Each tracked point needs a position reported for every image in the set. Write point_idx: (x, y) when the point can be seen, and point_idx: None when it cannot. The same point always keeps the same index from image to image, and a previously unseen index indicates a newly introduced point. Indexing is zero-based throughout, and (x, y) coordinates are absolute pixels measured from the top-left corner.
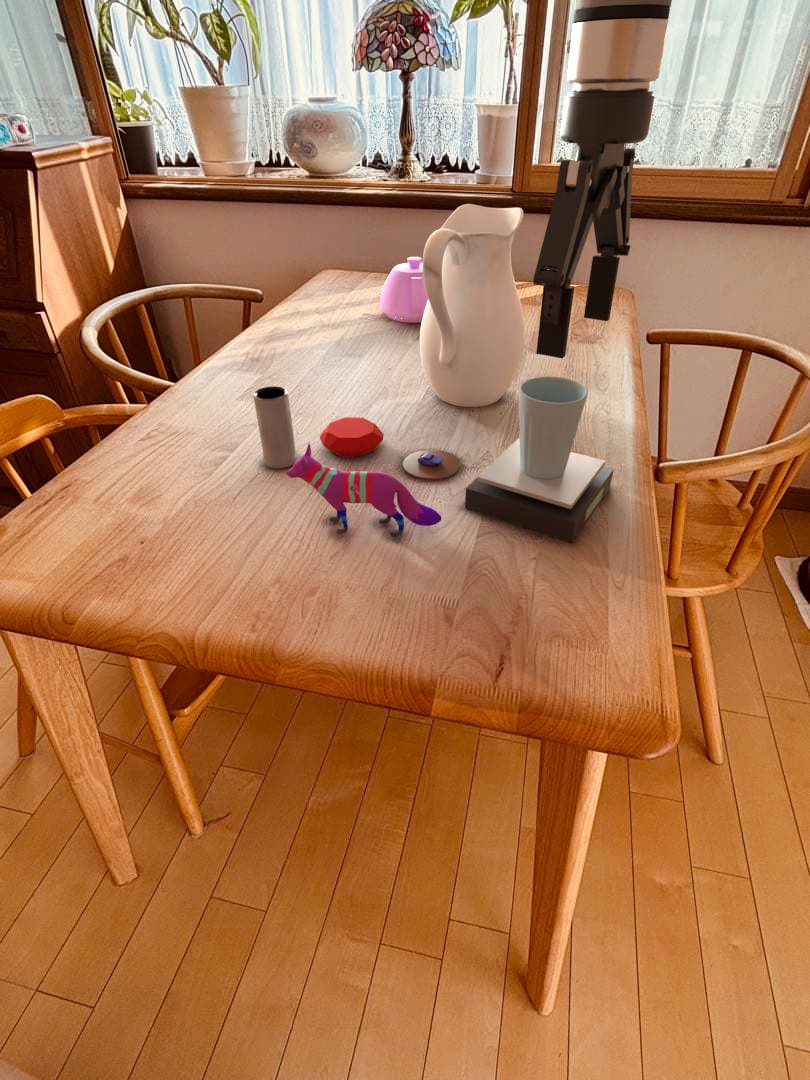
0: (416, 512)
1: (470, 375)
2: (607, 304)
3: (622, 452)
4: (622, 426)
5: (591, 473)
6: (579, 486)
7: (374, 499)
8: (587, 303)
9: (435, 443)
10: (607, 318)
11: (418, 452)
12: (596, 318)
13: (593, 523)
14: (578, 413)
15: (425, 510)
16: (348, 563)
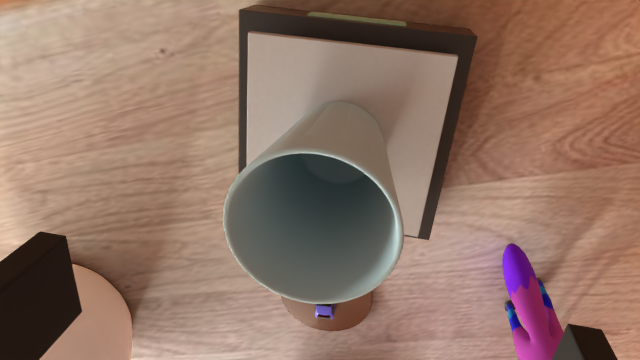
0: (536, 285)
1: (104, 342)
2: (17, 288)
3: (104, 13)
4: (6, 36)
5: (315, 48)
6: (379, 59)
7: None
8: (42, 349)
9: (257, 306)
10: (56, 242)
11: (303, 320)
12: (70, 275)
13: (387, 5)
14: (343, 141)
15: (528, 275)
16: (623, 313)
